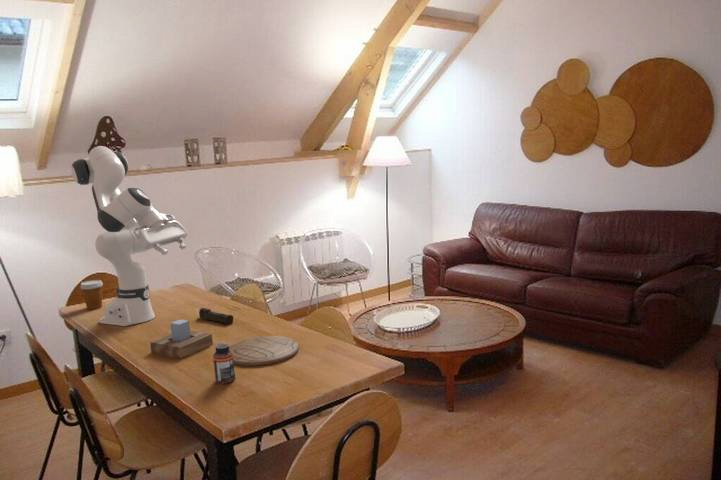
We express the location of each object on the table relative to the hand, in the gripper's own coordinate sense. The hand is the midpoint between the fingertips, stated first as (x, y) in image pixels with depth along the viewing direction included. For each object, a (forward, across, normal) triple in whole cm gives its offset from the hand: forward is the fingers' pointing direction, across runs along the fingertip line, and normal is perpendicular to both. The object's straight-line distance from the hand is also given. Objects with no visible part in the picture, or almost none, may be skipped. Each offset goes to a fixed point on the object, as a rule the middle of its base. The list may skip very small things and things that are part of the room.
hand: (175, 250), depth 222 cm
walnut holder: (+31, -13, +15) cm, 37 cm away
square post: (+31, -13, +15) cm, 37 cm away
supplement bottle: (+55, -29, -10) cm, 63 cm away
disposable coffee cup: (-24, +12, +72) cm, 77 cm away
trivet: (+53, -6, -6) cm, 53 cm away
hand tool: (+24, +16, +23) cm, 37 cm away
